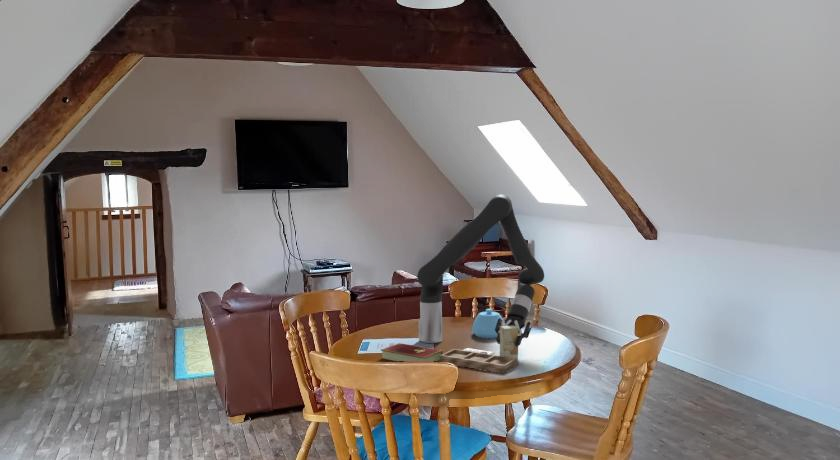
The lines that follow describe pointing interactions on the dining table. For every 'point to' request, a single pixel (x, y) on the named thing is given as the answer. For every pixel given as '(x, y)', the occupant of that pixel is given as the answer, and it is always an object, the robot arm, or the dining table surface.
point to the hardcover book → (410, 353)
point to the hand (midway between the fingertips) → (507, 344)
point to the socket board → (479, 360)
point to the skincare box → (508, 341)
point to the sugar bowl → (486, 324)
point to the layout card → (478, 351)
